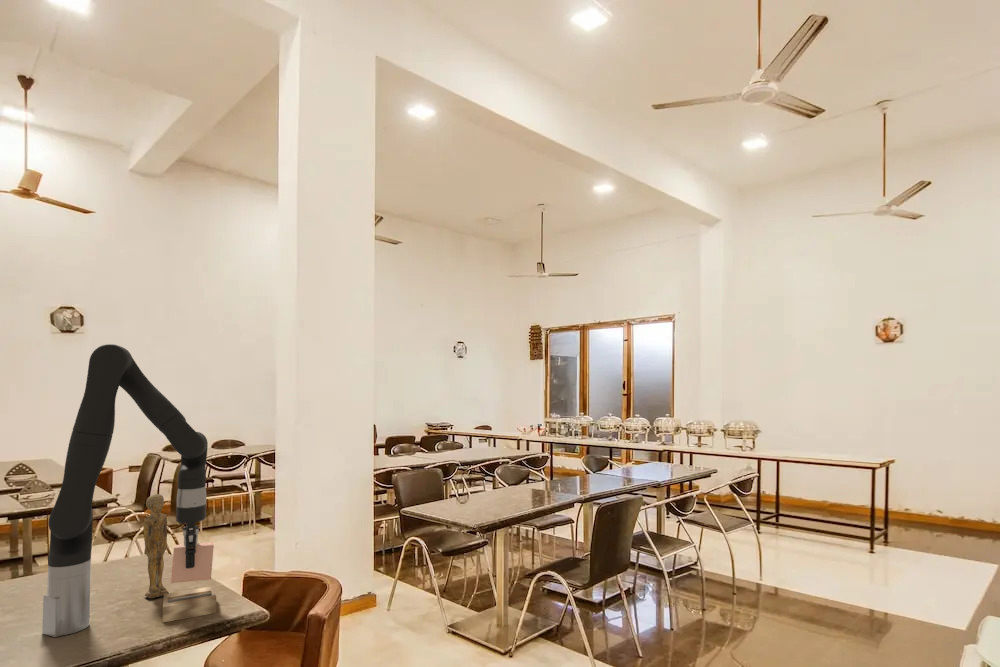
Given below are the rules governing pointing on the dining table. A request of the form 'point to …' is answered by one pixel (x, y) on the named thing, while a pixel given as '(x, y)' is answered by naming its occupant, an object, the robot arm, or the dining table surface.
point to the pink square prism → (201, 563)
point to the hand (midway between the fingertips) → (190, 565)
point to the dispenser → (189, 603)
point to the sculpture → (155, 544)
